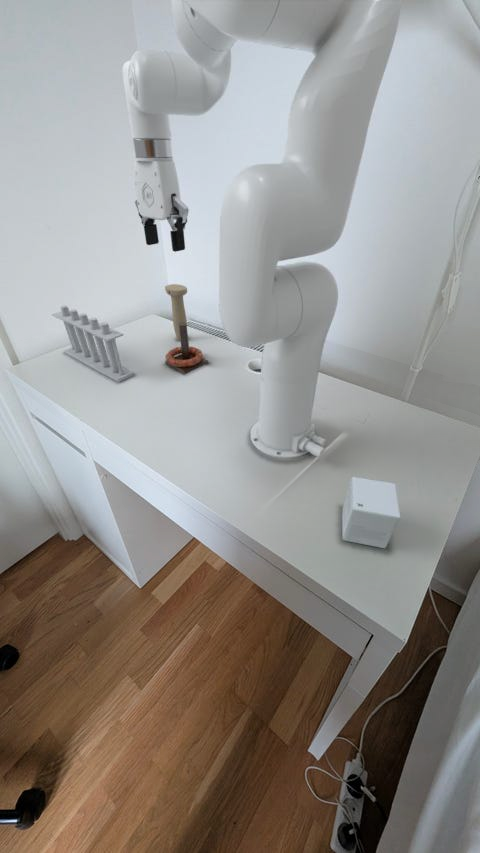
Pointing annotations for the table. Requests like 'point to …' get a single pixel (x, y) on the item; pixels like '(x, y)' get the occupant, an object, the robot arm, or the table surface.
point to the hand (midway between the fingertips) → (165, 247)
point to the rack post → (185, 351)
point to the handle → (177, 305)
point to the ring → (184, 363)
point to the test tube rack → (93, 343)
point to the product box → (370, 512)
